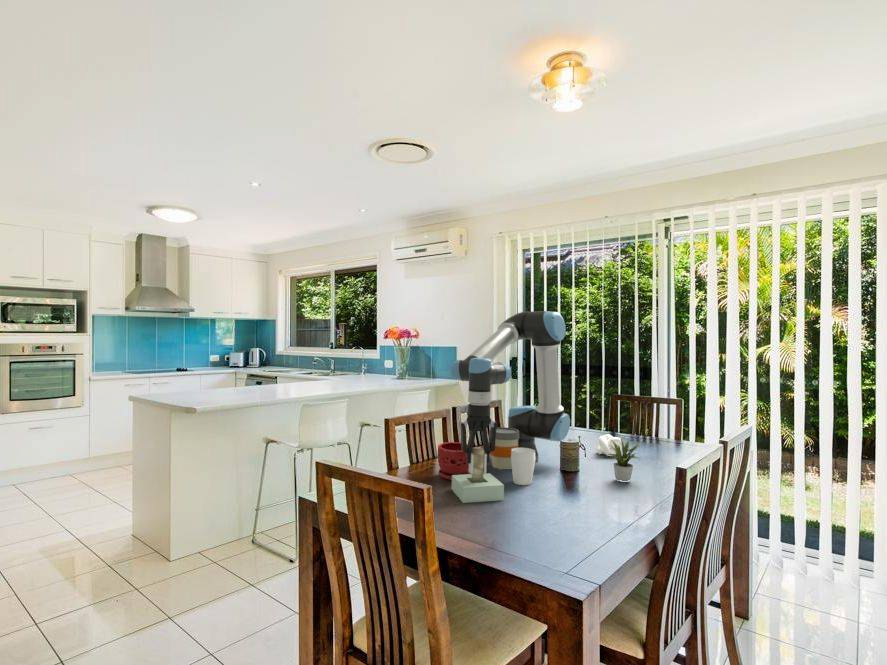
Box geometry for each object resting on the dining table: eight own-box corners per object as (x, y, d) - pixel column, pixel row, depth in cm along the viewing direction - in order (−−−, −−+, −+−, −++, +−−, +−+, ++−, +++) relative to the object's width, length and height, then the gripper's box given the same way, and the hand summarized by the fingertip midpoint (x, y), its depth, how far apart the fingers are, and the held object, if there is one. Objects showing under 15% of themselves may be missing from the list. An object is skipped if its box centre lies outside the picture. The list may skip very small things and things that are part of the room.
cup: (516, 487, 184) (516, 453, 184) (506, 479, 193) (507, 447, 193) (539, 485, 186) (539, 452, 186) (528, 478, 195) (529, 447, 195)
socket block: (489, 487, 183) (489, 473, 183) (503, 500, 170) (504, 485, 170) (451, 489, 180) (451, 475, 180) (463, 502, 166) (463, 487, 166)
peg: (480, 481, 177) (481, 447, 177) (484, 485, 173) (485, 449, 173) (469, 482, 176) (470, 447, 176) (473, 485, 172) (474, 450, 172)
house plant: (647, 489, 185) (649, 444, 185) (607, 486, 188) (609, 441, 188) (640, 478, 199) (642, 436, 199) (603, 475, 202) (604, 433, 202)
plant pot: (430, 478, 192) (431, 446, 192) (447, 470, 203) (447, 440, 203) (462, 484, 186) (463, 451, 185) (477, 475, 197) (478, 444, 197)
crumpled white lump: (588, 453, 238) (588, 434, 238) (608, 451, 243) (608, 432, 243) (605, 459, 228) (606, 439, 228) (626, 456, 233) (626, 437, 233)
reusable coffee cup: (518, 463, 217) (518, 427, 217) (519, 471, 204) (520, 434, 204) (488, 461, 218) (489, 426, 218) (487, 470, 205) (488, 432, 205)
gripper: (458, 405, 169) (456, 476, 169) (506, 404, 173) (504, 474, 173) (452, 402, 176) (450, 470, 176) (498, 401, 180) (497, 468, 180)
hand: (477, 472), depth 175 cm, fingers closed on peg, 4 cm apart
